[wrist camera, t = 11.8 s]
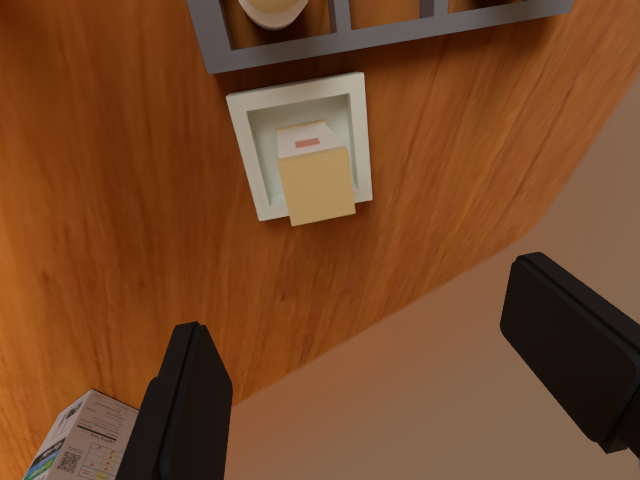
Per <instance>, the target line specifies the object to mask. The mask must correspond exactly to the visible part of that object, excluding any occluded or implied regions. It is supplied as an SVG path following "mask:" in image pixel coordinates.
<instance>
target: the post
mask: <svg viewBox="0 0 640 480" xmlns="http://www.w3.org/2000/svg"><path fill="white" fill-rule="evenodd" d="M238 1H239V3H240V4H241V6H242V7H243V9H244V11H245V12H246V14H247V15H248V17H249V18H250V19H251V20H252V21H253V22H254V23H255V24H256V25H257V26H259V27H261V28H262V29H265V30H269V31H279V30H282V29H285V28H286V27H288V26H289V25H290V24H292V23H293V21H294V20H295V19H296V18H297V16H298V15H299V14H300V12H301V11H302V10H303V8H304V7H305V6H306V4H307V2H308V0H238Z"/></svg>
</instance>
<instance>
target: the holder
mask: <svg viewBox="0 0 640 480" xmlns="http://www.w3.org/2000/svg"><path fill="white" fill-rule="evenodd" d="M186 1H187V4H188V8H189V11H190V15H191V18H192V22H193V25H194V29H195V32H196V36H197V39H198V43H199V46H200V49H201V53H202V56H203V60H204V63H205V67H206V70H207V74H208V75H209V74H215V73H221V72H227V71H233V70H239V69H244V68H250V67H256V66H262V65H268V64H274V63H279V62H285V61H291V60H297V59H303V58H309V57H315V56H320V55H326V54H332V53H338V52H344V51H350V50H355V49H361V48H367V47H373V46H379V45H385V44H390V43H396V42H402V41H408V40H414V39H420V38H426V37H431V36H437V35H443V34H449V33H455V32H461V31H466V30H472V29H478V28H484V27H490V26H496V25H501V24H507V23H513V22H519V21H525V20H531V19H536V18H542V17H548V16H554V15H560V14H566V13H571V9H572V4H573V0H525V1H522V2H516V3H510V4H504V5H499V6H493V7H487V8H481V9H475V10H469V11H463V12H457V13H451V14H448V0H420V19H416V20H410V21H404V22H398V23H392V24H386V25H380V26H374V27H368V28H362V29H356V30H351V22H350V10H349V0H328V7H329V16H330V25H331V34H327V35H321V36H315V37H309V38H303V39H297V40H291V41H285V42H279V43H273V44H268V45H262V46H256V47H250V48H244V49H238V50H234V47H233V43H232V39H231V34H230V30H229V26H228V22H227V18H226V14H225V10H224V6H223V1H222V0H186Z"/></svg>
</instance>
